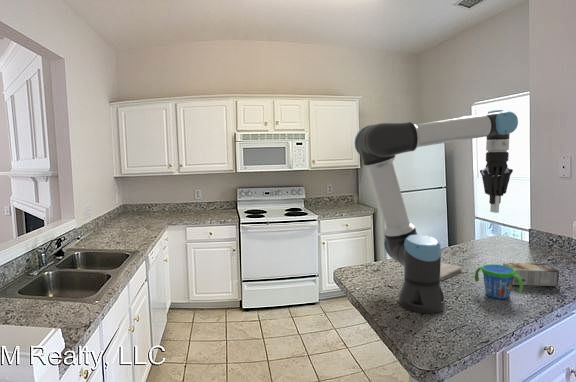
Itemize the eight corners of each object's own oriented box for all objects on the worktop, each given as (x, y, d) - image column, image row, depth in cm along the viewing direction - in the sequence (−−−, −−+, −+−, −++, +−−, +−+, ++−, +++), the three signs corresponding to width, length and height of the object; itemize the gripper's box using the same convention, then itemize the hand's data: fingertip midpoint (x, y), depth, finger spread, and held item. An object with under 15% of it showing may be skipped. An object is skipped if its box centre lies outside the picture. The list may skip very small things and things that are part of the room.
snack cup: (468, 291, 134) (469, 265, 132) (484, 285, 139) (485, 260, 138) (512, 307, 120) (513, 278, 119) (528, 299, 126) (529, 271, 124)
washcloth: (463, 272, 156) (463, 265, 155) (442, 282, 145) (442, 275, 144) (437, 265, 165) (437, 259, 164) (416, 275, 154) (416, 268, 153)
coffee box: (502, 262, 146) (546, 263, 143) (502, 277, 146) (545, 278, 144) (513, 269, 137) (559, 270, 134) (512, 285, 137) (558, 287, 135)
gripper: (489, 151, 131) (487, 214, 134) (519, 150, 134) (516, 212, 136) (475, 151, 138) (473, 211, 141) (504, 150, 141) (501, 209, 144)
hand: (494, 212), depth 139 cm, fingers closed
